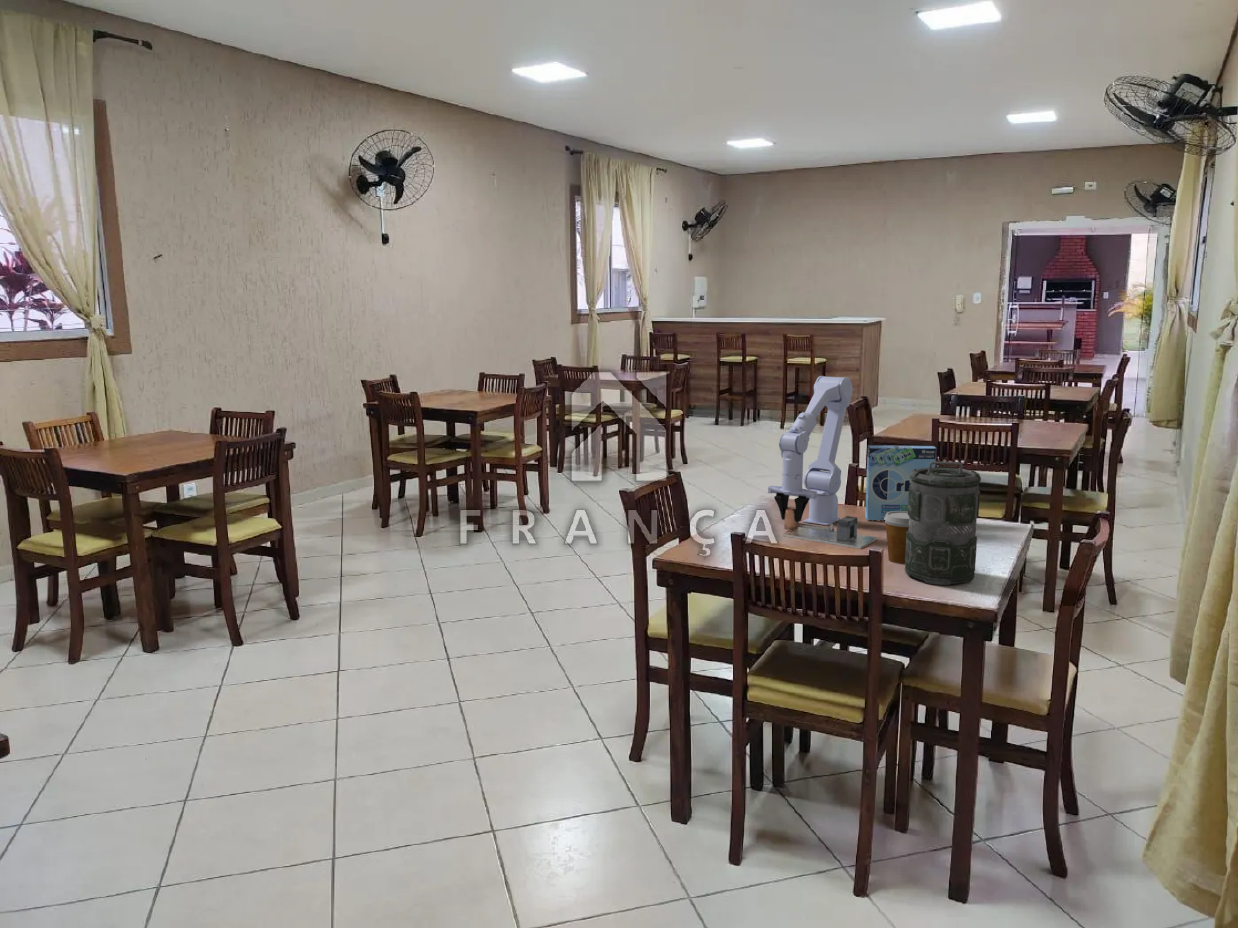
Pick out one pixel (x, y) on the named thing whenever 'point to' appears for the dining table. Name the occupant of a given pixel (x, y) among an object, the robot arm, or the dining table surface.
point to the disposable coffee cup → (897, 535)
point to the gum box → (892, 476)
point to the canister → (942, 524)
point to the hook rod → (793, 525)
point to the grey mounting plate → (835, 534)
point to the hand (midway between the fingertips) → (791, 520)
